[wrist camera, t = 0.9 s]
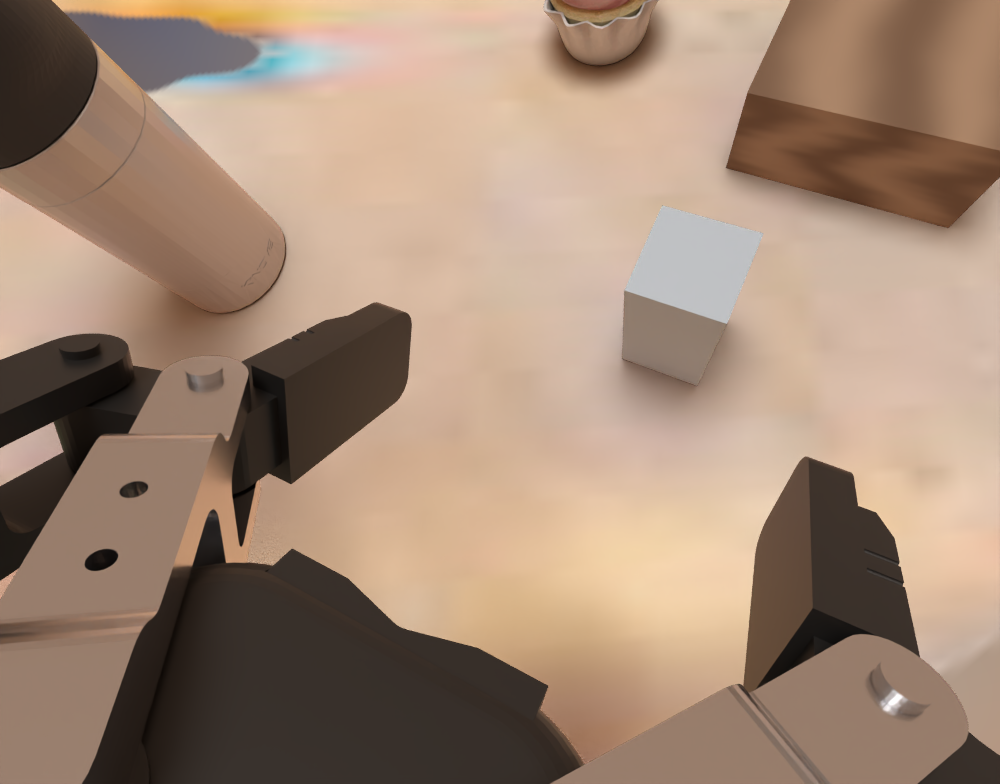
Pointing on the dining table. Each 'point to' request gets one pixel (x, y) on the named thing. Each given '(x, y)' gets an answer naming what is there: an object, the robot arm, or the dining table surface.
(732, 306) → the slate block
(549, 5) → the cupcake
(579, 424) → the dining table surface
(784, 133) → the pedestal
